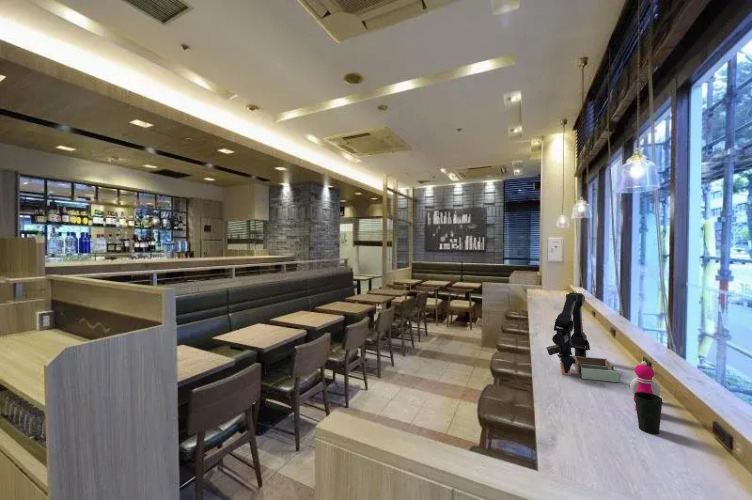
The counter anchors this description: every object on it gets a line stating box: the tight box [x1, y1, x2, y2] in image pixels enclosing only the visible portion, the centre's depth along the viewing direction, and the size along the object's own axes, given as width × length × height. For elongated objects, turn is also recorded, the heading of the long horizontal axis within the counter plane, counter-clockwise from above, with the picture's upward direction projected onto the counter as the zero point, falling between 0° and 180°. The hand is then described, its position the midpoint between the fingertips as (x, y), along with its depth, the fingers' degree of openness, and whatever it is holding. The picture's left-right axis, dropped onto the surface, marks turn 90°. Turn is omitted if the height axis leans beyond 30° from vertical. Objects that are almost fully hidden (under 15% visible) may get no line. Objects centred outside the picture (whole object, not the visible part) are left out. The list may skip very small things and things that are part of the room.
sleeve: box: [572, 355, 615, 374], centre depth 172 cm, size 12×15×5 cm
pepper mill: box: [633, 360, 655, 412], centre depth 128 cm, size 7×7×20 cm
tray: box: [580, 364, 620, 383], centre depth 164 cm, size 12×15×5 cm
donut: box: [629, 377, 661, 397], centre depth 138 cm, size 10×3×10 cm, turn 59°
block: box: [559, 361, 572, 376], centre depth 169 cm, size 4×4×5 cm
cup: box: [633, 392, 663, 435], centre depth 116 cm, size 8×8×12 cm
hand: (565, 371), depth 169 cm, fingers closed on block, 4 cm apart
